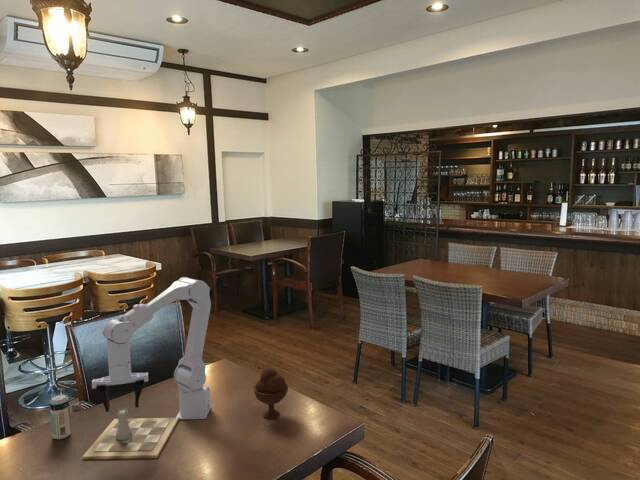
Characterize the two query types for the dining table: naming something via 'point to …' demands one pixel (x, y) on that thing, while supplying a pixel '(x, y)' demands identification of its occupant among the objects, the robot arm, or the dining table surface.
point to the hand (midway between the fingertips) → (122, 408)
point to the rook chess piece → (123, 425)
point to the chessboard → (133, 439)
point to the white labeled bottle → (60, 416)
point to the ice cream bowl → (270, 391)
